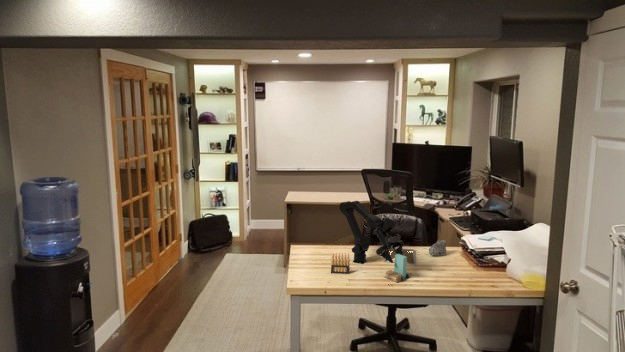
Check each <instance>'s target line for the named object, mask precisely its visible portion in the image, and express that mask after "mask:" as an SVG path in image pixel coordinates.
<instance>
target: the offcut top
mask: <svg viewBox="0 0 625 352" xmlns="http://www.w3.org/2000/svg"><path fill="white" fill-rule="evenodd" d="M385 273H386V274H388V275H390V276H393V277H395V278H400V277H402V274H400V273H397V272H395V271H394V270H392V269H390V270H387V271H385Z"/></svg>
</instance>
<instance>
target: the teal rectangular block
mask: <svg viewBox="0 0 625 352" xmlns="http://www.w3.org/2000/svg"><path fill="white" fill-rule="evenodd" d="M394 262H395V263H394V268H393V271H395V272H397V273H400V274H402V276H404V278H406V273H407V265H408V264H407V257H406V256H403V255H400V254H397V255H395V258H394Z"/></svg>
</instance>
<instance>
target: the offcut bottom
mask: <svg viewBox="0 0 625 352" xmlns="http://www.w3.org/2000/svg"><path fill="white" fill-rule="evenodd" d="M384 277H385V278H384V279H387V280H389V279H390V280H389V281H391V280H392V282H394V281H395V282H394V283H396V282H399V281H401V278H400V279H397V280H395V279H393V278H390V277H388V276H386V275H385V276H384ZM399 283H400V282H399Z"/></svg>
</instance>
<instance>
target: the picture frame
mask: <svg viewBox="0 0 625 352" xmlns="http://www.w3.org/2000/svg"><path fill="white" fill-rule="evenodd" d="M389 251H390V252H391V251H393V252H392V253H391V255H390V252H389V255H390V256H391V258H392V260H395V255H397V253H396V252H395V249H389ZM407 251H408V252H409V251H413V253H412V252H411V253H410V252H409V253H408V252H407ZM402 252H403V256H406V257H407V265H414V266H417V263H416V252H415V249H413V248H404V247H402ZM383 263H387V264H388V263H389V264H395V261H393V263H391V262H389V261H388V260H386V259H385V258H383Z"/></svg>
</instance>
